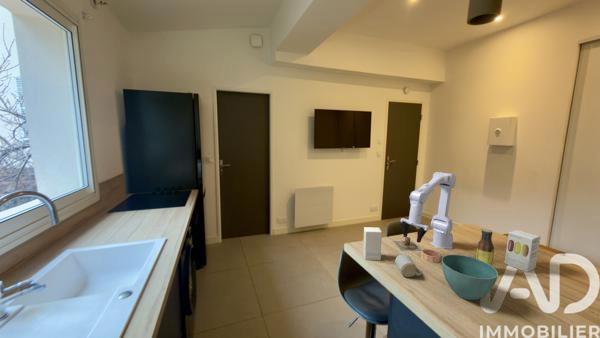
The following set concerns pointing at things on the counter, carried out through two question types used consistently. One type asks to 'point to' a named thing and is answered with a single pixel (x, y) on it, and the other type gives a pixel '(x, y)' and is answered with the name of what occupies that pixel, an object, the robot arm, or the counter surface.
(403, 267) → the ceramic mug
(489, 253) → the sauce bottle
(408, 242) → the lid
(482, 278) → the deep teal bowl
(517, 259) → the supplement box
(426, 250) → the bowl
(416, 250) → the mat
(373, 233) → the skincare box
